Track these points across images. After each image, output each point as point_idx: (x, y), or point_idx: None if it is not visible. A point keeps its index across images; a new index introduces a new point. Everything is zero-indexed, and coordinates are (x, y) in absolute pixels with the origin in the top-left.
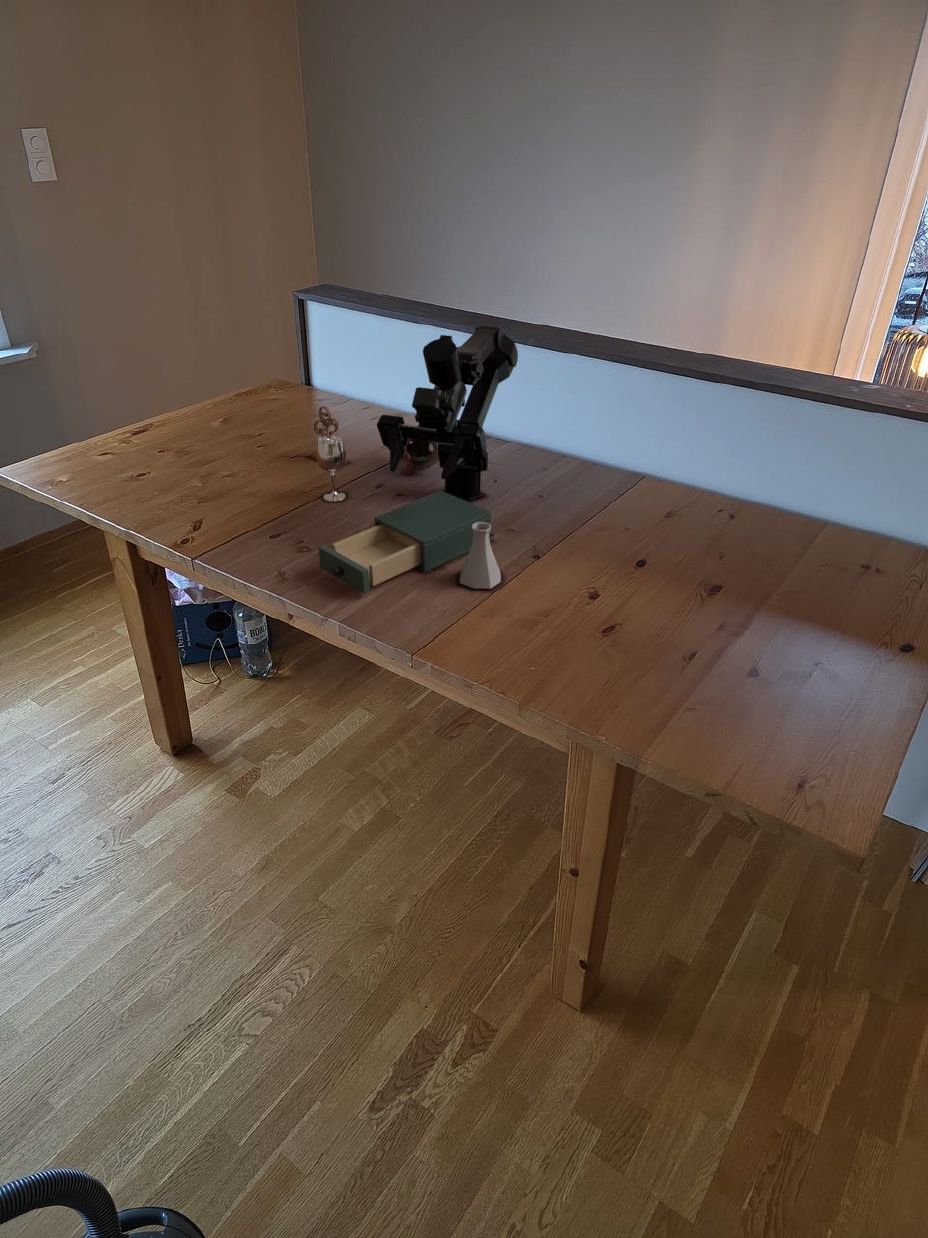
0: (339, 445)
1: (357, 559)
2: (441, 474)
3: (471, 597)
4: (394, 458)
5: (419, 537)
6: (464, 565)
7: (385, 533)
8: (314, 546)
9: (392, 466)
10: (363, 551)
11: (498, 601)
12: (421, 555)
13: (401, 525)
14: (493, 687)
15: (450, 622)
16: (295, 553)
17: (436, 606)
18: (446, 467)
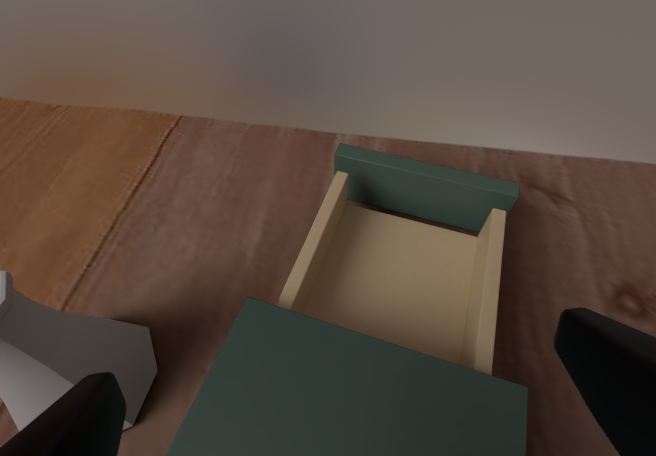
0: None
1: (438, 264)
2: (109, 377)
3: (108, 288)
4: (648, 362)
5: (275, 318)
6: (124, 346)
7: None
8: None
9: (575, 318)
10: (457, 308)
11: (35, 300)
12: None
13: (386, 372)
14: (44, 103)
15: (140, 195)
16: (626, 276)
17: (183, 227)
18: (30, 437)
